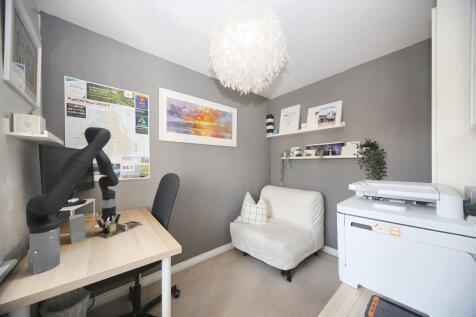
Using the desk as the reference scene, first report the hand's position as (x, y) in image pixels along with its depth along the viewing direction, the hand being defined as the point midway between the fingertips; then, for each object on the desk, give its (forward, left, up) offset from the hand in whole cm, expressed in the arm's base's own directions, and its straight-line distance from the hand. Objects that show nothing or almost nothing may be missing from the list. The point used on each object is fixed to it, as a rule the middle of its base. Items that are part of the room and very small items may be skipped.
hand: (109, 231), depth 111 cm
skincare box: (-14, +7, -2) cm, 15 cm away
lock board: (+6, 0, -2) cm, 7 cm away
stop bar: (0, 0, -1) cm, 1 cm away
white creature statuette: (+7, +19, -2) cm, 21 cm away
